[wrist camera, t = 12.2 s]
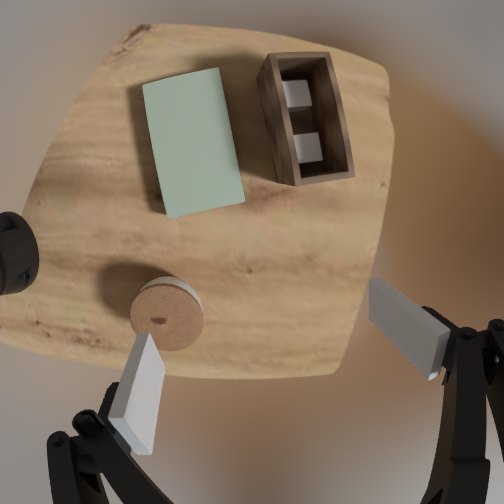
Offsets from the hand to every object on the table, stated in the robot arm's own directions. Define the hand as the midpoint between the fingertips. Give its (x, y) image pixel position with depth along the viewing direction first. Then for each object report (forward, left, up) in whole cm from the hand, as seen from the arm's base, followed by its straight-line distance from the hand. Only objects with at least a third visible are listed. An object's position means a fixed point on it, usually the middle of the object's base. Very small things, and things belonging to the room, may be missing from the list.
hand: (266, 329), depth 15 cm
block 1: (+12, +18, -28) cm, 35 cm away
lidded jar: (-12, -9, -29) cm, 33 cm away
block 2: (+12, +10, -28) cm, 32 cm away
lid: (-3, +14, -28) cm, 31 cm away
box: (+12, +14, -29) cm, 34 cm away
